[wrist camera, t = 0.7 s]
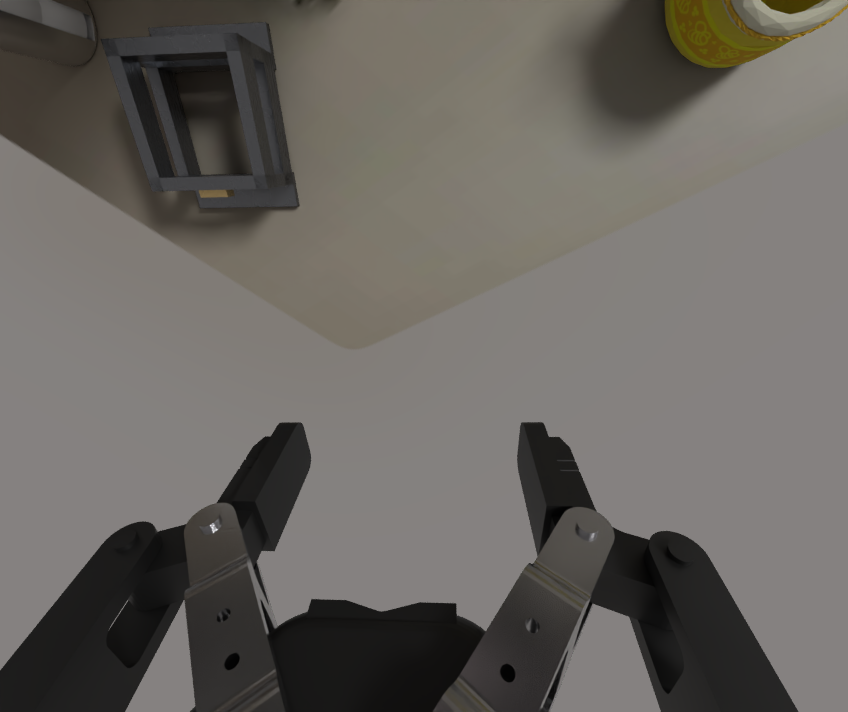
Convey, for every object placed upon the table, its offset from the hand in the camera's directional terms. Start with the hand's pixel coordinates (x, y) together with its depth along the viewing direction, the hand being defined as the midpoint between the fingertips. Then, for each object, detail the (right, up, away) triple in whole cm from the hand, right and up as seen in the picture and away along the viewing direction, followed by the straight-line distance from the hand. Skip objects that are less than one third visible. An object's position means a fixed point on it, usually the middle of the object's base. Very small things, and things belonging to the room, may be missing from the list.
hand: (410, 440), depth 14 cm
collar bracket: (-17, +24, +21) cm, 36 cm away
